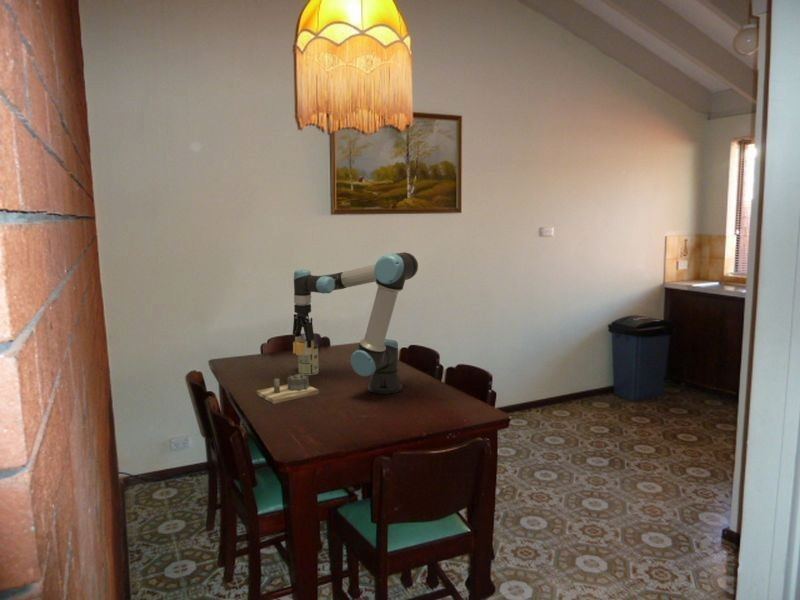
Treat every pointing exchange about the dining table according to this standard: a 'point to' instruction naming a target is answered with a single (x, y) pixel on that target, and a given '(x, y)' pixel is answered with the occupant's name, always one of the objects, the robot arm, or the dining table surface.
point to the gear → (301, 347)
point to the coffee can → (309, 363)
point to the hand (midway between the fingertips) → (303, 352)
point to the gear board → (288, 389)
